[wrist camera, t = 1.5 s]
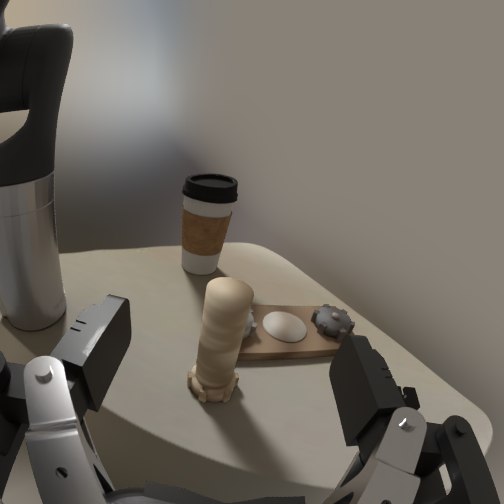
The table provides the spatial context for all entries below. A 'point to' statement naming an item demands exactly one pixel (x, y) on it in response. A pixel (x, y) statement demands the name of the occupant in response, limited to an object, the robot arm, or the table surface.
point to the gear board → (293, 332)
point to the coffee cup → (205, 220)
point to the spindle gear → (220, 339)
